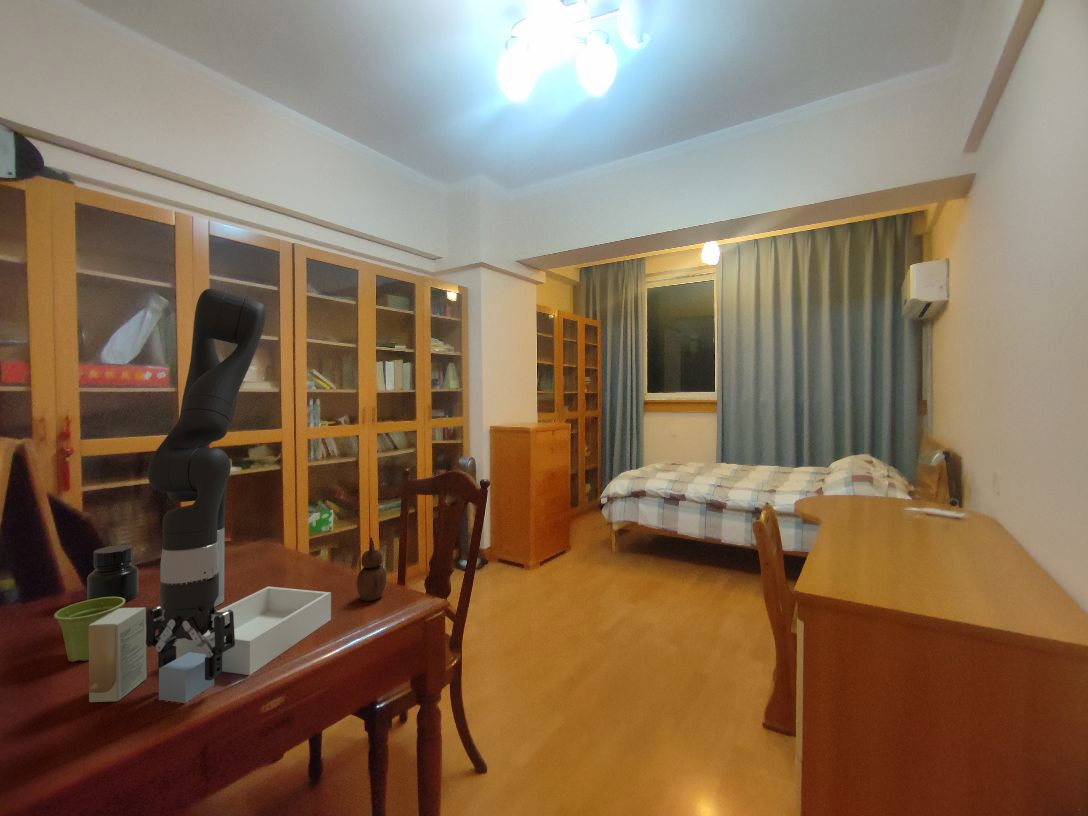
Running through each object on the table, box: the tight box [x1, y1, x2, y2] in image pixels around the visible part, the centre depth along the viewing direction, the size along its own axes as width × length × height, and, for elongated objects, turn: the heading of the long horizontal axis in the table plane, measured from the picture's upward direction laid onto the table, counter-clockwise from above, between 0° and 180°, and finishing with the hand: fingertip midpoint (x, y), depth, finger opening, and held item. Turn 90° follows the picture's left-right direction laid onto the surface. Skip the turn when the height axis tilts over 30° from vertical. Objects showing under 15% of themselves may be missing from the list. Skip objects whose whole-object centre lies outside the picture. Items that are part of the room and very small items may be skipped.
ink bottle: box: [86, 544, 139, 603], centre depth 111 cm, size 10×9×12 cm
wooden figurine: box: [356, 537, 387, 602], centre depth 113 cm, size 7×6×15 cm
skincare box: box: [88, 607, 147, 703], centre depth 76 cm, size 6×4×12 cm
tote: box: [173, 586, 332, 676], centre depth 93 cm, size 16×22×6 cm
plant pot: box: [53, 597, 126, 663], centre depth 87 cm, size 9×9×9 cm
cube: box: [158, 652, 215, 703], centre depth 76 cm, size 5×5×5 cm
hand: (190, 674), depth 76 cm, fingers open, 8 cm apart
